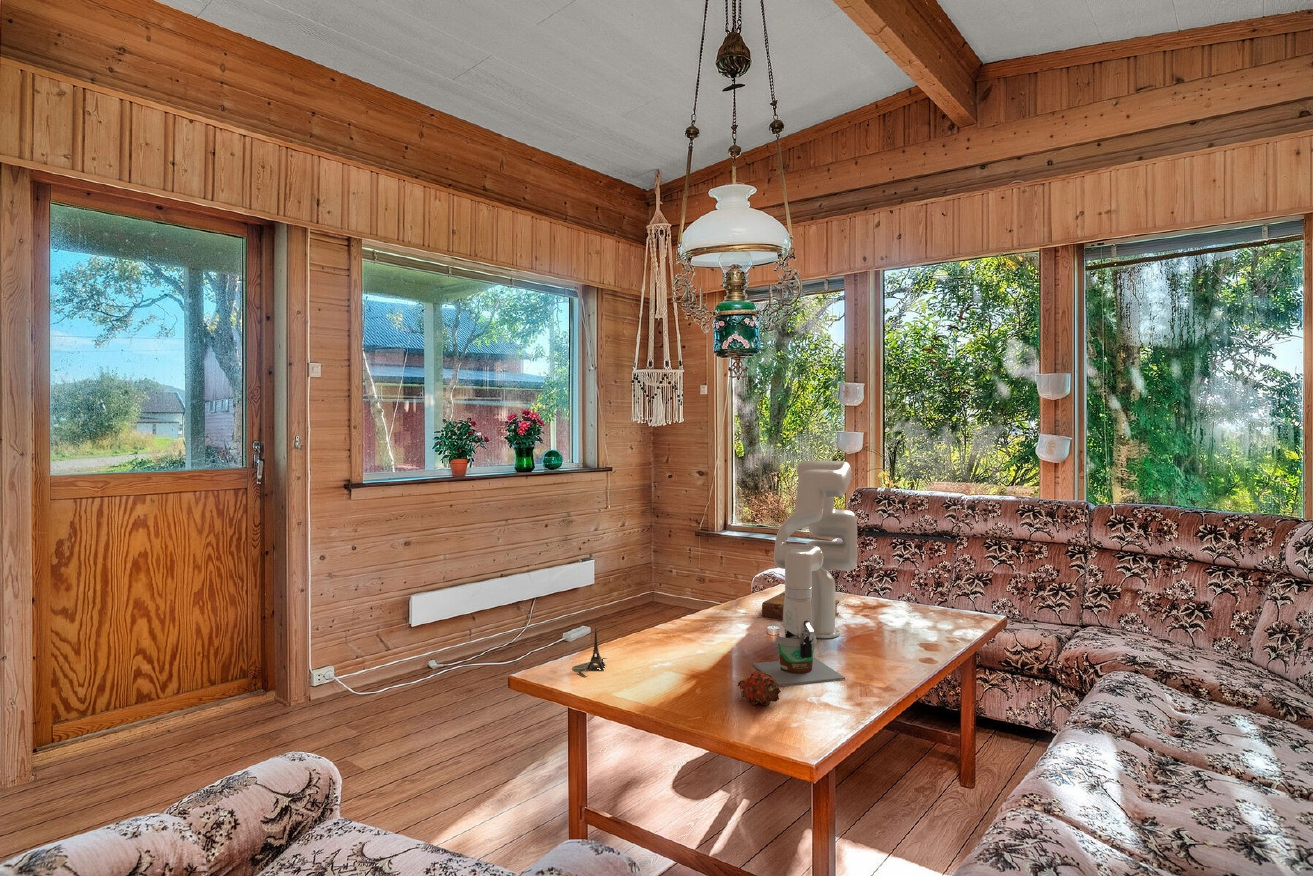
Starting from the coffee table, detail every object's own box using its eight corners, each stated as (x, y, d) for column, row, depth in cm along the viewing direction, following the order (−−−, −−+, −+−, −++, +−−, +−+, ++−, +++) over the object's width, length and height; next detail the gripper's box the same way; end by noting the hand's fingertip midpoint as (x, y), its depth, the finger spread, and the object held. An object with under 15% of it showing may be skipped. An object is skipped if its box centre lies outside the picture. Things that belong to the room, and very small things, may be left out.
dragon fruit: (781, 716, 183) (740, 711, 191) (791, 688, 189) (751, 684, 197) (767, 694, 180) (726, 690, 187) (778, 666, 186) (738, 663, 193)
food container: (785, 676, 205) (785, 640, 205) (775, 670, 211) (775, 635, 211) (824, 672, 208) (824, 637, 208) (814, 666, 214) (814, 631, 214)
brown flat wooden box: (761, 618, 271) (761, 602, 271) (781, 607, 287) (781, 592, 287) (821, 627, 259) (821, 610, 259) (839, 615, 275) (839, 600, 274)
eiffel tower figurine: (605, 659, 224) (604, 615, 224) (626, 667, 216) (626, 622, 216) (564, 670, 214) (564, 625, 214) (585, 679, 206) (584, 632, 206)
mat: (753, 665, 217) (753, 663, 217) (814, 659, 222) (814, 657, 222) (779, 686, 200) (779, 684, 200) (845, 679, 205) (845, 677, 205)
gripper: (773, 587, 218) (773, 644, 218) (800, 601, 201) (800, 663, 202) (796, 585, 220) (796, 641, 220) (824, 599, 203) (824, 660, 204)
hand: (798, 652), depth 211 cm, fingers open, 9 cm apart
